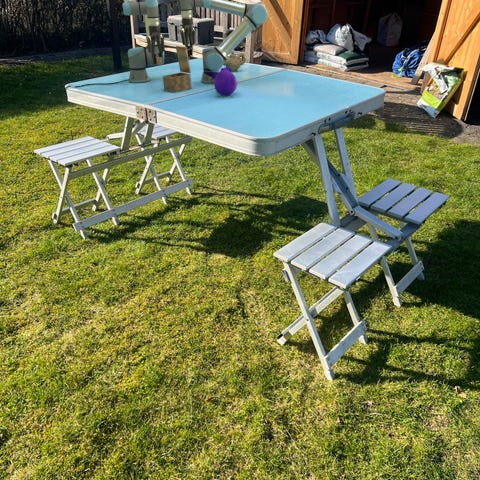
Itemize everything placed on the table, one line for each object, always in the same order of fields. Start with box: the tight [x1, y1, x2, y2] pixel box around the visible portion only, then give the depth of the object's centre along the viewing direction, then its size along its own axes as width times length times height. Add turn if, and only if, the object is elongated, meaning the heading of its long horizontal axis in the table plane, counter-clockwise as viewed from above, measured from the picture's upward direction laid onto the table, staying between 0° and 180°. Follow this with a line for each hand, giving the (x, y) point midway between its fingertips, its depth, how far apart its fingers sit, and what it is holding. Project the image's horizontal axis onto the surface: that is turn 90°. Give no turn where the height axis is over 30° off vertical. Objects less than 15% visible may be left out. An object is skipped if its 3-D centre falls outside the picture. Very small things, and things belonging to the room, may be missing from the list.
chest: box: [162, 71, 192, 93], centre depth 309 cm, size 16×10×10 cm, turn 136°
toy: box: [202, 66, 238, 97], centre depth 293 cm, size 16×18×27 cm
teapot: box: [223, 50, 246, 72], centre depth 364 cm, size 21×12×15 cm, turn 120°
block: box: [156, 57, 162, 66], centre depth 303 cm, size 4×4×4 cm
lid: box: [175, 45, 194, 74], centre depth 308 cm, size 17×10×8 cm
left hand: (158, 63), depth 304 cm, fingers closed on block, 4 cm apart
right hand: (189, 55), depth 308 cm, fingers closed on lid, 2 cm apart
